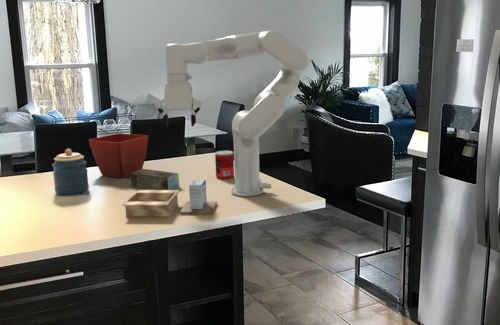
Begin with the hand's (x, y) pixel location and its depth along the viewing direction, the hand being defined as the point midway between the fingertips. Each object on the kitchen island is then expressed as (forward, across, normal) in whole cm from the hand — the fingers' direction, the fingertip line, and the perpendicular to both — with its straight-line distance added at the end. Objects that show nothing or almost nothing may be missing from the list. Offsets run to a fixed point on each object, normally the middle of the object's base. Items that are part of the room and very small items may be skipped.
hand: (179, 125), depth 198 cm
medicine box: (+26, -8, +15) cm, 31 cm away
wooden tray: (+27, +8, +16) cm, 33 cm away
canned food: (+28, -13, -32) cm, 44 cm away
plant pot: (+28, +35, -40) cm, 60 cm away
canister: (+28, +46, -10) cm, 55 cm away
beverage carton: (+28, +14, -17) cm, 36 cm away
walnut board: (+27, -8, +15) cm, 32 cm away
